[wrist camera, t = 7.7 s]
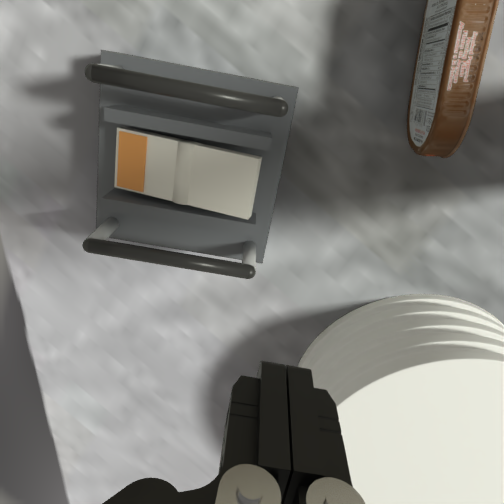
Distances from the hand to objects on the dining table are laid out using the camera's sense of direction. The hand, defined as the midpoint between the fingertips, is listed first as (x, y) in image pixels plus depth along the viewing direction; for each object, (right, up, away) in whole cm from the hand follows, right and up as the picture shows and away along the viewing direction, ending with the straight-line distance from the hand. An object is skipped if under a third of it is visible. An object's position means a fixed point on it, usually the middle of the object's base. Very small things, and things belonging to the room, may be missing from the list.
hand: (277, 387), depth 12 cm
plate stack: (+18, -13, +39) cm, 45 cm away
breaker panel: (-6, +13, +27) cm, 31 cm away
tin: (+15, +21, +24) cm, 35 cm away
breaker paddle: (-6, +11, +22) cm, 25 cm away
